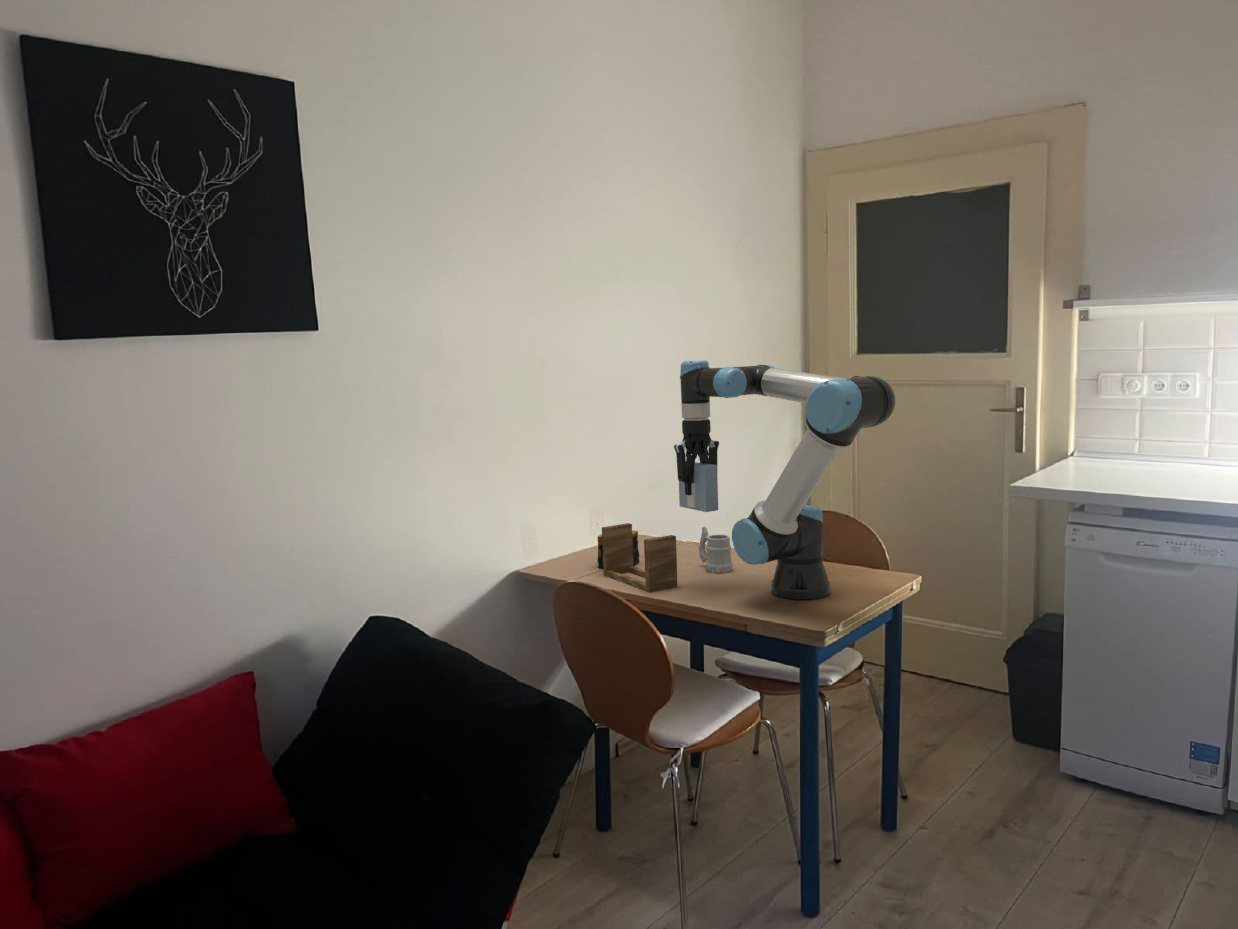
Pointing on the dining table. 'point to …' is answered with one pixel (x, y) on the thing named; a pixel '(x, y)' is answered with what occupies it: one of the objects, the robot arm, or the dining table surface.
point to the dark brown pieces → (635, 549)
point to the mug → (715, 552)
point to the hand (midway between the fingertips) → (698, 505)
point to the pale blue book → (702, 488)
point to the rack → (657, 558)
